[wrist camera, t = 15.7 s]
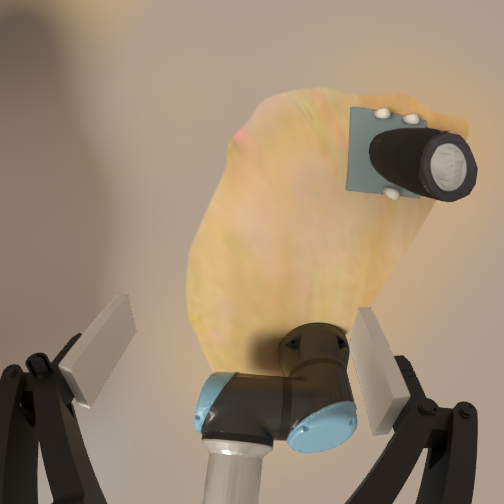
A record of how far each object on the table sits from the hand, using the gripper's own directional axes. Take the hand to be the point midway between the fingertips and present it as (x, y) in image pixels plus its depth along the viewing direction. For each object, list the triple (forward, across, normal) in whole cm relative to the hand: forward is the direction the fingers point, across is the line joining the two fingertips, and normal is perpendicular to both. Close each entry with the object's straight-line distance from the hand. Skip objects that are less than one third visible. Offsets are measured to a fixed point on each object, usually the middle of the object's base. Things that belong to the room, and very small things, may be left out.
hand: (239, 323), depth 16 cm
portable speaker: (+34, -21, -9) cm, 41 cm away
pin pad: (+35, -21, -9) cm, 41 cm away
